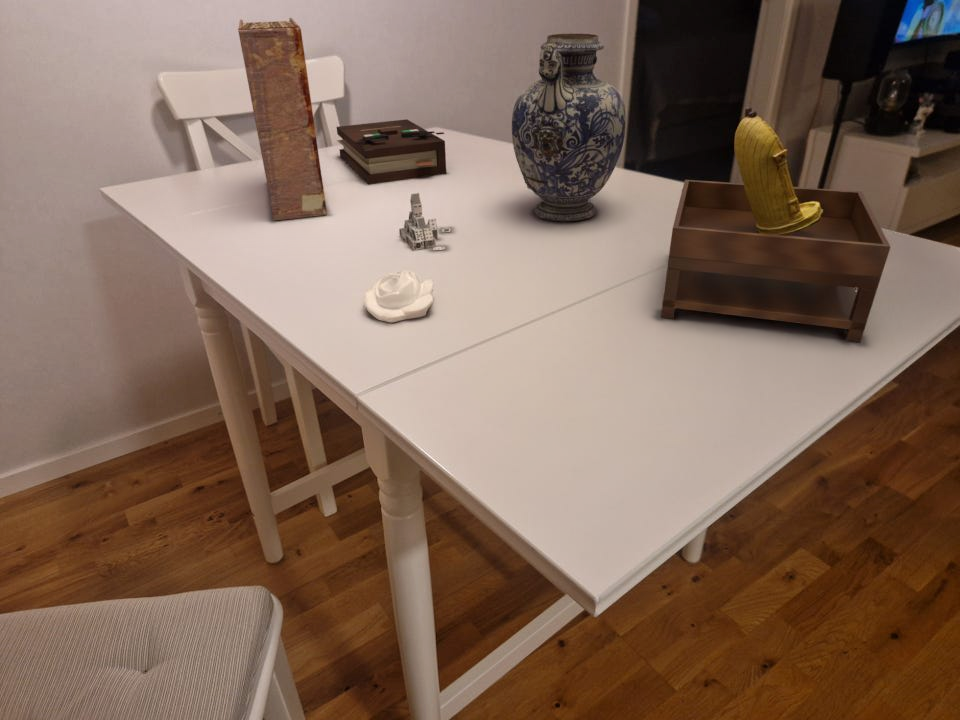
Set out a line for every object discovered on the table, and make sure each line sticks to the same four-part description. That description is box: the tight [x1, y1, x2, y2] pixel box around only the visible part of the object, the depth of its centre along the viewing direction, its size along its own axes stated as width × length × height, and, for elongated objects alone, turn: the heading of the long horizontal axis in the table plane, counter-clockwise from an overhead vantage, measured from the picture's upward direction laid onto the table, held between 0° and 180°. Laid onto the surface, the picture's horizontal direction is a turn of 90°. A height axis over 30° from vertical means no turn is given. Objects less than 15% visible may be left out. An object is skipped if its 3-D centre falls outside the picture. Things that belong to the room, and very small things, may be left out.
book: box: [237, 17, 328, 222], centre depth 118 cm, size 25×9×30 cm, turn 17°
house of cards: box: [398, 192, 451, 251], centre depth 103 cm, size 9×9×8 cm
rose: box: [363, 269, 434, 323], centre depth 84 cm, size 10×4×10 cm
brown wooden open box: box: [660, 179, 891, 343], centre depth 82 cm, size 22×20×12 cm
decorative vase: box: [511, 33, 627, 223], centre depth 108 cm, size 21×19×28 cm
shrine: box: [733, 106, 823, 236], centre depth 77 cm, size 12×8×15 cm
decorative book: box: [336, 119, 447, 185], centre depth 144 cm, size 19×8×30 cm
